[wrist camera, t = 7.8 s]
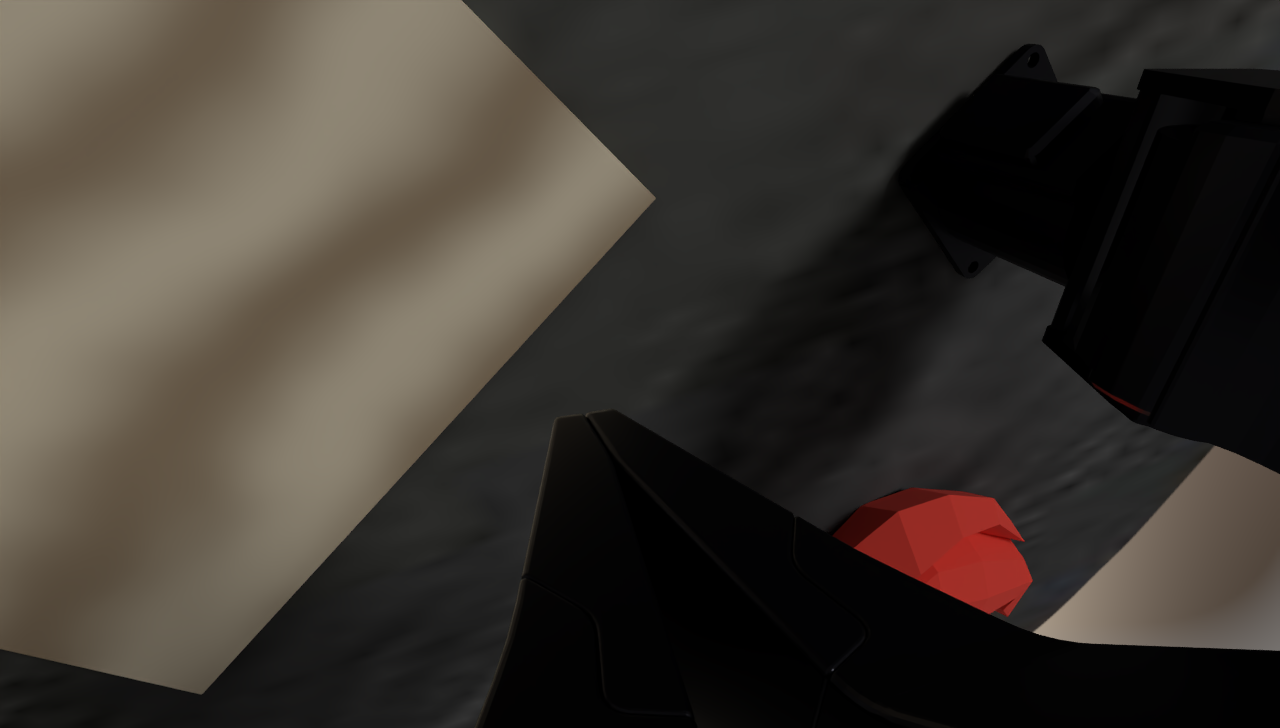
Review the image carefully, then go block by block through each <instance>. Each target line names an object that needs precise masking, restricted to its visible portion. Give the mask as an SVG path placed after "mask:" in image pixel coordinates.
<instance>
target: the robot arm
mask: <svg viewBox="0 0 1280 728" xmlns="http://www.w3.org/2000/svg"><path fill="white" fill-rule="evenodd" d="M1029 57H1030V60H1029V62H1028V58H1029ZM1027 62H1028V64H1027ZM1137 89H1138V90H1140V92H1139V94H1138V97H1137V98H1130V97H1123V96H1116V95H1109V94H1103V93H1101V92H1100V89H1098V88H1096V87H1090V86H1083V85H1076V84H1068V83H1061V82H1057V79H1056V77H1055V74H1054V72H1053V69H1052V67H1051V64H1050V62H1049V59H1048V57H1047V54H1046V52H1045V49H1044V48H1043V47H1042V46H1041V45H1037V44H1026V45H1024V46H1022V47H1021V48H1020V49H1019V50H1018V51H1017V52H1016V53H1015V54H1014V55H1013V56H1012V57H1011V58H1010V59H1009V60H1008V61H1007V62H1006V63H1005V64H1004V65H1003V66H1002V67H1001V68H1000V69H999V70H998V71H997V72H996V73H995V74H994V75H993V76H992V77H991V78H990V79H989V80H988V81H987V82H986V83H985V84H984V85H983V86H982V87H981V88H980V89H979V90H978V91H977V92H976V93H975V94H974V95H973V96H972V97H971V98H970V99H969V101H968V102H967V103H966V104H965V105H964V106H963V107H962V108H961V109H960V110H959V111H958V112H957V113H956V114H955V115H954V116H953V117H952V118H951V119H950V120H949V121H948V122H947V123H946V124H945V125H944V126H943V127H942V128H941V129H940V130H939V131H938V132H937V133H936V134H935V135H934V136H933V137H932V138H931V139H930V140H929V141H928V142H927V143H926V144H925V145H924V146H923V147H922V148H921V149H920V150H919V151H918V152H917V153H916V154H915V155H914V156H913V158H912V159H911V160H910V161H909V162H908V163H907V164H906V165H905V166H904V167H903V168H902V170H901V171H900V174H899V184H900V186H901V188H902V189H903V191H904V192H905V194H906V195H907V197H908V198H909V200H910V201H911V203H912V204H913V206H914V207H915V209H916V210H917V212H918V213H919V215H920V217H921V218H922V220H923V221H924V223H925V224H926V226H927V227H928V229H929V230H930V232H931V233H932V235H933V236H934V238H935V239H936V241H937V242H938V244H939V245H940V247H941V249H942V250H943V252H944V253H945V255H946V256H947V258H948V259H949V261H950V262H951V264H952V265H953V267H954V268H955V270H956V271H957V273H958V274H960V275H962V276H964V277H966V278H973V277H975V276H976V275H977V274H979V273H980V272H981V271H982V270H983V269H984V268H985V267H986V266H987V265H988V264H989V263H990V262H991V261H992V260H993V259H994V258H995V257H996V256H997V257H999V258H1002V259H1004V260H1006V261H1008V262H1011V263H1013V264H1015V265H1017V266H1020V267H1022V268H1024V269H1026V270H1029V271H1031V272H1033V273H1036V274H1038V275H1040V276H1042V277H1045V278H1047V279H1049V280H1051V281H1054V282H1056V283H1058V284H1060V285H1063V286H1065V289H1064V292H1063V295H1062V297H1061V300H1060V303H1059V305H1058V308H1057V310H1056V313H1055V316H1054V318H1053V321H1052V324H1051V325H1049V326H1047V328H1046V331H1045V334H1044V336H1043V339H1042V341H1043V343H1044V344H1046V345H1047V346H1048V347H1049V348H1050V349H1051V350H1052V351H1053V352H1054V353H1055V354H1057V355H1058V356H1059V357H1060V358H1061V359H1062V360H1063V361H1064V362H1065V363H1066V364H1067V365H1069V366H1070V367H1071V368H1072V369H1073V370H1074V371H1075V372H1076V373H1077V374H1078V375H1080V376H1081V377H1082V378H1083V379H1084V380H1085V381H1086V382H1087V383H1088V384H1089V385H1091V386H1092V387H1093V388H1094V389H1095V390H1096V391H1097V392H1098V393H1099V394H1100V395H1101V396H1103V397H1104V398H1105V399H1106V400H1107V401H1108V402H1109V403H1110V404H1111V405H1113V406H1114V407H1115V408H1117V409H1118V410H1119V411H1121V412H1122V413H1123V414H1124V415H1125V416H1126V417H1127V418H1129V419H1130V420H1131V421H1133V422H1135V423H1137V424H1141V425H1145V426H1149V427H1151V428H1153V429H1156V430H1159V431H1161V432H1165V433H1168V434H1170V435H1173V436H1177V437H1181V438H1185V439H1189V440H1193V441H1199V442H1205V443H1210V444H1213V445H1215V446H1218V447H1221V448H1223V449H1226V450H1229V451H1231V452H1234V453H1236V454H1239V455H1241V456H1243V457H1245V458H1247V459H1249V460H1252V461H1254V462H1256V463H1259V464H1260V465H1263V466H1265V467H1267V468H1269V469H1271V470H1273V471H1275V472H1277V473H1279V474H1280V71H1278V70H1265V69H1144V71H1143V74H1142V76H1141V79H1140V82H1139V84H1138V87H1137ZM915 172H916V175H915V178H914V179H913V180H912V181H911V178H912V175H913V174H914V173H915ZM970 264H971V265H970ZM969 265H970V266H969ZM968 267H969V268H968ZM475 728H1280V651H1272V650H1245V649H1218V648H1192V647H1163V646H1137V645H1112V644H1111V645H1110V644H1089V643H1077V642H1071V641H1064V640H1058V639H1055V638H1050V637H1046V636H1042V635H1039V634H1036V633H1033V632H1030V631H1027V630H1024V629H1021V628H1019V627H1017V626H1014V625H1012V624H1010V623H1007V622H1005V621H1003V620H1001V619H999V618H996V617H994V616H992V615H990V614H988V613H986V612H984V611H982V610H980V609H978V608H976V607H973V606H971V605H969V604H967V603H965V602H963V601H961V600H959V599H957V598H955V597H953V596H950V595H948V594H946V593H944V592H942V591H940V590H938V589H936V588H934V587H932V586H930V585H928V584H925V583H923V582H921V581H919V580H917V579H915V578H913V577H911V576H909V575H907V574H905V573H902V572H900V571H898V570H896V569H894V568H892V567H890V566H888V565H886V564H884V563H882V562H880V561H878V560H876V559H874V558H872V557H870V556H868V555H866V554H864V553H862V552H860V551H858V550H857V549H855V548H853V547H851V546H849V545H848V544H846V543H844V542H842V541H840V540H839V539H837V538H835V537H833V536H831V535H830V534H828V533H826V532H824V531H822V530H821V529H819V528H817V527H815V526H814V525H812V524H810V523H809V522H807V521H805V520H803V519H802V518H800V517H795V518H794V515H793V513H791V512H789V511H788V510H786V509H784V508H783V507H781V506H779V505H777V504H776V503H774V502H772V501H771V500H769V499H767V498H765V497H764V496H762V495H760V494H759V493H757V492H755V491H753V490H752V489H750V488H748V487H747V486H745V485H743V484H741V483H740V482H738V481H736V480H735V479H733V478H731V477H729V476H728V475H726V474H724V473H723V472H721V471H719V470H717V469H716V468H714V467H712V466H711V465H709V464H707V463H705V462H704V461H702V460H700V459H699V458H697V457H695V456H694V455H692V454H690V453H688V452H687V451H685V450H683V449H682V448H680V447H678V446H676V445H675V444H673V443H671V442H670V441H668V440H666V439H664V438H663V437H661V436H659V435H658V434H656V433H654V432H652V431H651V430H649V429H647V428H646V427H644V426H642V425H640V424H639V423H637V422H635V421H634V420H632V419H630V418H628V417H627V416H625V415H623V414H622V413H620V412H618V411H616V410H614V409H606V410H600V411H594V412H589V413H587V414H586V415H585V416H584V415H583V414H575V415H569V416H562V417H557V418H556V419H555V421H554V424H553V429H552V434H551V438H550V443H549V448H548V453H547V458H546V462H545V467H544V472H543V477H542V482H541V486H540V491H539V496H538V501H537V506H536V510H535V515H534V520H533V525H532V530H531V534H530V539H529V544H528V549H527V554H526V558H525V563H524V568H523V573H522V580H521V581H520V585H519V590H518V595H517V599H516V604H515V608H514V612H513V616H512V620H511V624H510V628H509V631H508V635H507V639H506V643H505V646H504V649H503V652H502V654H501V657H500V660H499V663H498V666H497V669H496V672H495V675H494V678H493V681H492V684H491V686H490V689H489V692H488V694H487V697H486V700H485V702H484V705H483V707H482V710H481V713H480V715H479V718H478V720H477V723H476V726H475Z"/></svg>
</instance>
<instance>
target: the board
mask: <svg viewBox="0 0 1280 728" xmlns="http://www.w3.org/2000/svg"><path fill="white" fill-rule="evenodd" d="M655 199H656V198H655V197H654V196H653V195H652V194H651V193H650V192H649V191H648V190H647V189H646V188H645V187H644V186H643V184H642V183H641V182H640V181H639V180H638V179H637V178H636V177H635V176H634V175H633V174H632V173H631V172H630V171H629V170H628V169H627V168H626V167H625V166H624V165H623V164H622V163H621V162H620V161H619V160H618V159H617V158H616V157H615V156H614V155H613V154H612V153H611V152H610V151H609V150H608V149H607V148H606V147H605V146H604V145H603V144H602V143H601V142H600V141H599V140H598V139H597V138H596V137H595V136H594V135H593V134H592V133H591V132H590V131H589V130H588V129H587V128H586V127H585V125H584V124H583V123H582V122H581V121H580V120H579V119H578V118H577V117H576V116H575V115H574V114H573V113H572V112H571V111H570V110H569V109H568V108H567V107H566V106H565V105H564V104H563V103H562V102H561V101H560V100H559V99H558V98H557V97H556V96H555V95H554V94H553V93H552V92H551V91H550V90H549V89H548V88H547V87H546V86H545V85H544V84H543V83H542V82H541V81H540V80H539V79H538V78H537V77H536V76H535V75H534V74H533V73H532V72H531V71H530V70H529V69H528V68H527V67H526V65H525V64H524V63H523V62H522V61H521V60H520V59H519V58H518V57H517V56H516V55H515V54H514V53H513V52H512V51H511V50H510V49H509V48H508V47H507V46H506V45H505V44H504V43H503V42H502V41H501V40H500V39H499V38H498V37H497V36H496V35H495V34H494V33H493V32H492V31H491V30H490V29H489V28H488V27H487V26H486V25H485V24H484V23H483V22H482V21H481V20H480V19H479V18H478V17H477V16H476V15H475V14H474V13H473V12H472V11H471V10H470V9H469V8H468V6H467V5H466V4H465V3H464V2H463V1H462V0H0V649H3V650H7V651H12V652H16V653H21V654H25V655H29V656H34V657H38V658H43V659H47V660H51V661H56V662H60V663H65V664H69V665H73V666H78V667H82V668H87V669H91V670H95V671H100V672H104V673H109V674H113V675H117V676H122V677H126V678H131V679H135V680H139V681H144V682H148V683H153V684H157V685H162V686H166V687H170V688H175V689H179V690H184V691H188V692H192V693H197V694H201V695H202V694H203V693H204V692H205V691H206V689H207V688H208V687H209V686H210V685H211V684H212V683H213V682H214V681H215V680H216V679H217V677H218V676H219V675H220V674H221V673H222V672H223V671H224V670H225V669H226V668H227V667H228V665H229V664H230V663H231V662H232V661H233V660H234V659H235V658H236V657H237V656H238V654H239V653H240V652H241V651H242V650H243V649H244V648H245V647H246V646H247V645H248V644H249V642H250V641H251V640H252V639H253V638H254V637H255V636H256V635H257V634H258V633H259V632H260V630H261V629H262V628H263V627H264V626H265V625H266V624H267V623H268V622H269V621H270V620H271V618H272V617H273V616H274V615H275V614H276V613H277V612H278V611H279V610H280V609H281V607H282V606H283V605H284V604H285V603H286V602H287V601H288V600H289V599H290V598H291V597H292V595H293V594H294V593H295V592H296V591H297V590H298V589H299V588H300V587H301V586H302V585H303V583H304V582H305V581H306V580H307V579H308V578H309V577H310V576H311V575H312V574H313V573H314V571H315V570H316V569H317V568H318V567H319V566H320V565H321V564H322V563H323V562H324V560H325V559H326V558H327V557H328V556H329V555H330V554H331V553H332V552H333V551H334V550H335V548H336V547H337V546H338V545H339V544H340V543H341V542H342V541H343V540H344V539H345V538H346V536H347V535H348V534H349V533H350V532H351V531H352V530H353V529H354V528H355V527H356V526H357V524H358V523H359V522H360V521H361V520H362V519H363V518H364V517H365V516H366V515H367V514H368V512H369V511H370V510H371V509H372V508H373V507H374V506H375V505H376V504H377V503H378V501H379V500H380V499H381V498H382V497H383V496H384V495H385V494H386V493H387V492H388V491H389V489H390V488H391V487H392V486H393V485H394V484H395V483H396V482H397V481H398V480H399V479H400V477H401V476H402V475H403V474H404V473H405V472H406V471H407V470H408V469H409V468H410V467H411V465H412V464H413V463H414V462H415V461H416V460H417V459H418V458H419V457H420V456H421V454H422V453H423V452H424V451H425V450H426V449H427V448H428V447H429V446H430V445H431V444H432V442H433V441H434V440H435V439H436V438H437V437H438V436H439V435H440V434H441V433H442V432H443V430H444V429H445V428H446V427H447V426H448V425H449V424H450V423H451V422H452V421H453V420H454V418H455V417H456V416H457V415H458V414H459V413H460V412H461V411H462V410H463V409H464V407H465V406H466V405H467V404H468V403H469V402H470V401H471V400H472V399H473V398H474V397H475V395H476V394H477V393H478V392H479V391H480V390H481V389H482V388H483V387H484V386H485V385H486V383H487V382H488V381H489V380H490V379H491V378H492V377H493V376H494V375H495V374H496V373H497V371H498V370H499V369H500V368H501V367H502V366H503V365H504V364H505V363H506V362H507V360H508V359H509V358H510V357H511V356H512V355H513V354H514V353H515V352H516V351H517V350H518V348H519V347H520V346H521V345H522V344H523V343H524V342H525V341H526V340H527V339H528V338H529V336H530V335H531V334H532V333H533V332H534V331H535V330H536V329H537V328H538V327H539V326H540V324H541V323H542V322H543V321H544V320H545V319H546V318H547V317H548V316H549V315H550V313H551V312H552V311H553V310H554V309H555V308H556V307H557V306H558V305H559V304H560V303H561V301H562V300H563V299H564V298H565V297H566V296H567V295H568V294H569V293H570V292H571V291H572V289H573V288H574V287H575V286H576V285H577V284H578V283H579V282H580V281H581V280H582V279H583V277H584V276H585V275H586V274H587V273H588V272H589V271H590V270H591V269H592V268H593V266H594V265H595V264H596V263H597V262H598V261H599V260H600V259H601V258H602V257H603V256H604V254H605V253H606V252H607V251H608V250H609V249H610V248H611V247H612V246H613V245H614V244H615V242H616V241H617V240H618V239H619V238H620V237H621V236H622V235H623V234H624V233H625V232H626V230H627V229H628V228H629V227H630V226H631V225H632V224H633V223H634V222H635V221H636V220H637V218H638V217H639V216H640V215H641V214H642V213H643V212H644V211H645V210H646V209H647V207H648V206H649V205H650V204H651V203H652V202H653V201H654V200H655Z"/></svg>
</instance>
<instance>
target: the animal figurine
mask: <svg viewBox="0 0 1280 728" xmlns="http://www.w3.org/2000/svg"><path fill="white" fill-rule="evenodd" d="M832 536H833V537H835V538H837V539H839V540H840V541H842V542H844V543H846V544H848V545H849V546H851V547H853V548H855V549H857V550H858V551H860V552H862V553H864V554H866V555H868V556H870V557H872V558H874V559H876V560H878V561H880V562H882V563H884V564H886V565H888V566H890V567H892V568H894V569H896V570H898V571H900V572H902V573H905V574H907V575H909V576H911V577H913V578H915V579H917V580H919V581H921V582H923V583H925V584H928V585H930V586H932V587H934V588H936V589H938V590H940V591H942V592H944V593H946V594H948V595H950V596H953V597H955V598H957V599H959V600H961V601H963V602H965V603H967V604H969V605H971V606H973V607H976V608H978V609H980V610H982V611H984V612H986V613H988V614H990V613H992V612H993V611H997V612H999V613H1001V614H1003V615H1005V616H1007V617H1008V616H1009V614H1010V613H1011V611H1012V610H1013V608H1014V607H1015V606H1016V604H1017V603H1018V601H1019V600H1020V598H1021V597H1022V595H1023V594H1024V593H1025V591H1026V590H1027V588H1028V587H1029V585H1030V584H1031V582H1032V581H1033V580H1032V578H1031V575H1030V573H1029V570H1028V568H1027V565H1026V563H1025V560H1024V558H1023V557H1022V556H1021V554H1020V553H1019V551H1018V550H1017V548H1016V547H1015V546H1014V544H1013V543H1012V541H1011V540H1010V539H1014V540H1019V541H1024V540H1023V538H1022V537H1021V535H1020V534H1019V532H1018V531H1017V529H1016V528H1015V526H1014V525H1013V523H1012V522H1011V520H1010V519H1009V518H1008V516H1007V515H1006V514H1005V512H1004V511H1003V510H1002V509H1001V507H1000V506H999V505H998V503H997V502H996V501H995V499H994V498H990V497H986V496H981V495H976V494H972V493H967V492H962V491H949V490H935V489H922V488H909V489H906V490H903V491H900V492H897V493H895V494H892V495H889V496H886V497H883V498H880V499H877V500H874V501H871V502H869V503H867V504H865V505H862V506H861V507H860V508H858V509H857V510H856V511H855V513H854V514H853V515H852V516H851V517H850V518H849V519H848V520H847V521H846V522H845V523H844V524H843V525H842V526H841V527H840V528H839V529H838V530H837V531H836V532H835V533H834V534H833V535H832ZM1024 542H1025V541H1024Z"/></svg>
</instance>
